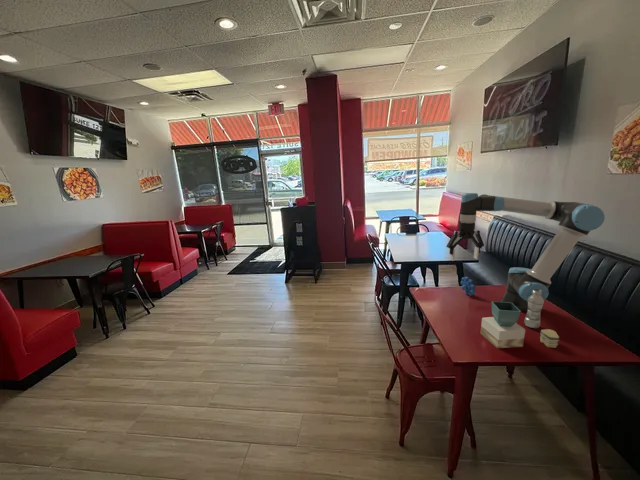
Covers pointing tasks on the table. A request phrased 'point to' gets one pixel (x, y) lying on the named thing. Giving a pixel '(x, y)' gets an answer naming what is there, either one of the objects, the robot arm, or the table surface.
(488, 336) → the bottom slab
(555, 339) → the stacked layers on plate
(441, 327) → the table surface
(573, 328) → the table surface
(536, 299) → the plastic bottle
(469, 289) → the grapes
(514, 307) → the flower pot
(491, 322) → the top slab
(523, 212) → the robot arm
